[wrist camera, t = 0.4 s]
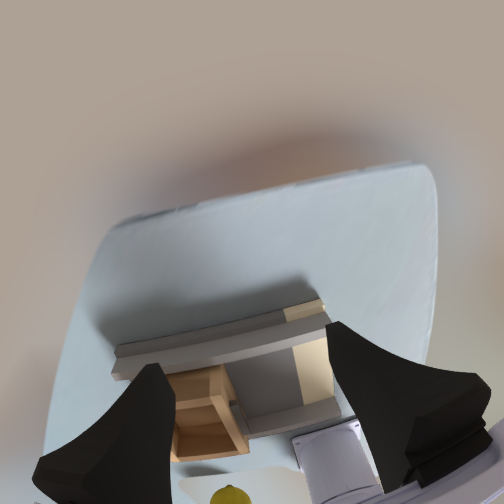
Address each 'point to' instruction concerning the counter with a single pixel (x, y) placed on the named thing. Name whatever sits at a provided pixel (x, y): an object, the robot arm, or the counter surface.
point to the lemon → (230, 496)
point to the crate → (207, 416)
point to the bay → (254, 364)
